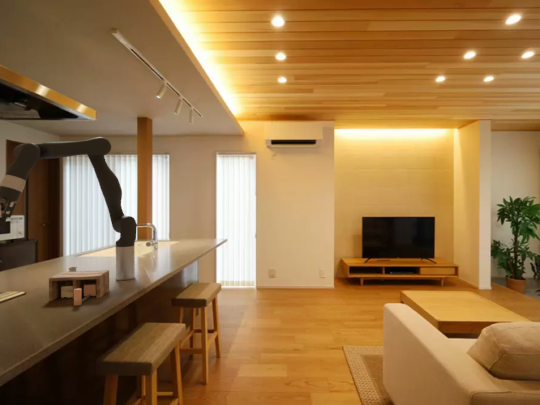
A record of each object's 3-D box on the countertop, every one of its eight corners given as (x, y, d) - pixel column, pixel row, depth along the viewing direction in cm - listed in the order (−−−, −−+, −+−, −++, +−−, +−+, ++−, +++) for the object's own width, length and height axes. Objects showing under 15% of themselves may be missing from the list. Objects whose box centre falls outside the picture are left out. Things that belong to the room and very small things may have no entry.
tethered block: (88, 293, 145) (88, 279, 145) (99, 292, 145) (99, 279, 145) (69, 305, 127) (69, 290, 127) (83, 305, 128) (82, 289, 128)
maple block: (66, 294, 144) (66, 283, 144) (78, 294, 145) (78, 283, 145) (61, 297, 139) (61, 286, 139) (73, 297, 140) (73, 286, 140)
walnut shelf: (62, 292, 146) (62, 272, 146) (109, 290, 149) (109, 270, 149) (49, 300, 135) (48, 278, 135) (99, 298, 138) (99, 276, 138)
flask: (73, 290, 150) (73, 269, 150) (60, 290, 152) (59, 268, 152) (85, 286, 157) (85, 266, 157) (72, 286, 159) (72, 265, 159)
